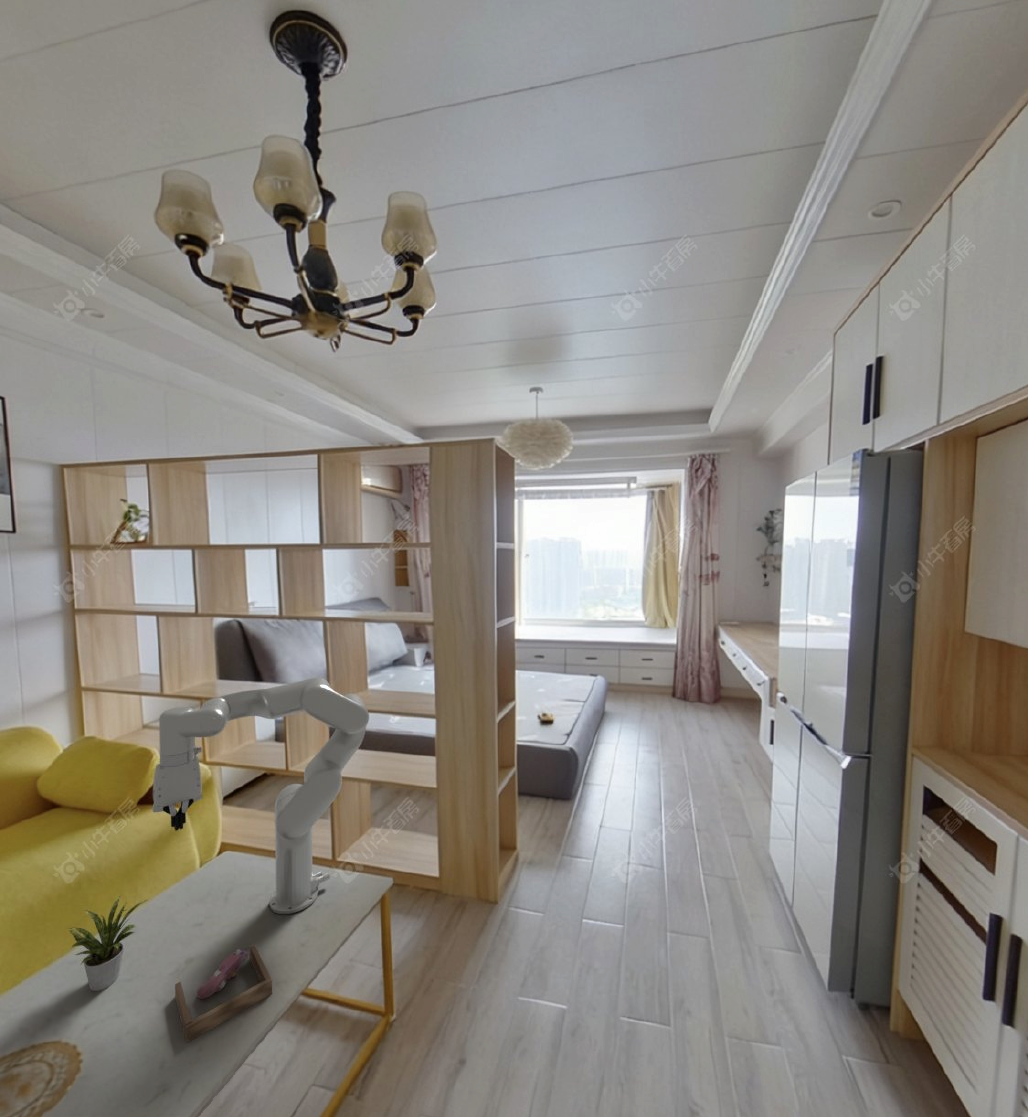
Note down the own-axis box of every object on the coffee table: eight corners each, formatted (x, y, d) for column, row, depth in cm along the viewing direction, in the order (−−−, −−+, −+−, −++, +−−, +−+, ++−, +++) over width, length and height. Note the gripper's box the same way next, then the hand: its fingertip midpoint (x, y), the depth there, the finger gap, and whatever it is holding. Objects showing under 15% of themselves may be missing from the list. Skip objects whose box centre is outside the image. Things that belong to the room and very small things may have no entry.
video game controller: (208, 1010, 106) (220, 984, 105) (193, 997, 107) (204, 971, 106) (243, 972, 116) (254, 948, 115) (228, 960, 117) (239, 936, 116)
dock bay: (254, 956, 118) (254, 944, 118) (272, 993, 108) (272, 980, 108) (175, 997, 107) (175, 984, 107) (186, 1042, 97) (186, 1028, 97)
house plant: (140, 941, 123) (139, 877, 123) (157, 971, 114) (156, 902, 114) (63, 980, 112) (62, 909, 112) (76, 1016, 103) (75, 940, 103)
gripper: (208, 745, 133) (208, 811, 134) (139, 761, 123) (140, 833, 123) (214, 753, 128) (215, 822, 128) (143, 770, 118) (144, 846, 118)
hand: (178, 827), depth 126 cm, fingers closed
